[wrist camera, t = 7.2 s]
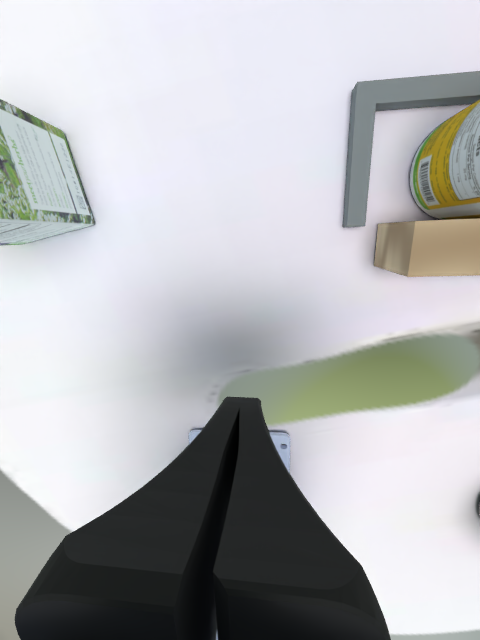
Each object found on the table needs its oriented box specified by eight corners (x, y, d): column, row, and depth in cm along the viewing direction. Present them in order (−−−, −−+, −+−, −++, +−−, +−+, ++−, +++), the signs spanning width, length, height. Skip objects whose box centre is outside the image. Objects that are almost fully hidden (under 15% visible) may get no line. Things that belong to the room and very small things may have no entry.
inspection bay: (559, 218, 16) (577, 217, 15) (342, 227, 17) (347, 226, 16) (601, 69, 14) (625, 58, 13) (351, 91, 15) (357, 82, 14)
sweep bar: (513, 262, 17) (597, 272, 13) (374, 265, 18) (407, 276, 13) (524, 218, 16) (617, 212, 12) (378, 223, 17) (415, 221, 13)
